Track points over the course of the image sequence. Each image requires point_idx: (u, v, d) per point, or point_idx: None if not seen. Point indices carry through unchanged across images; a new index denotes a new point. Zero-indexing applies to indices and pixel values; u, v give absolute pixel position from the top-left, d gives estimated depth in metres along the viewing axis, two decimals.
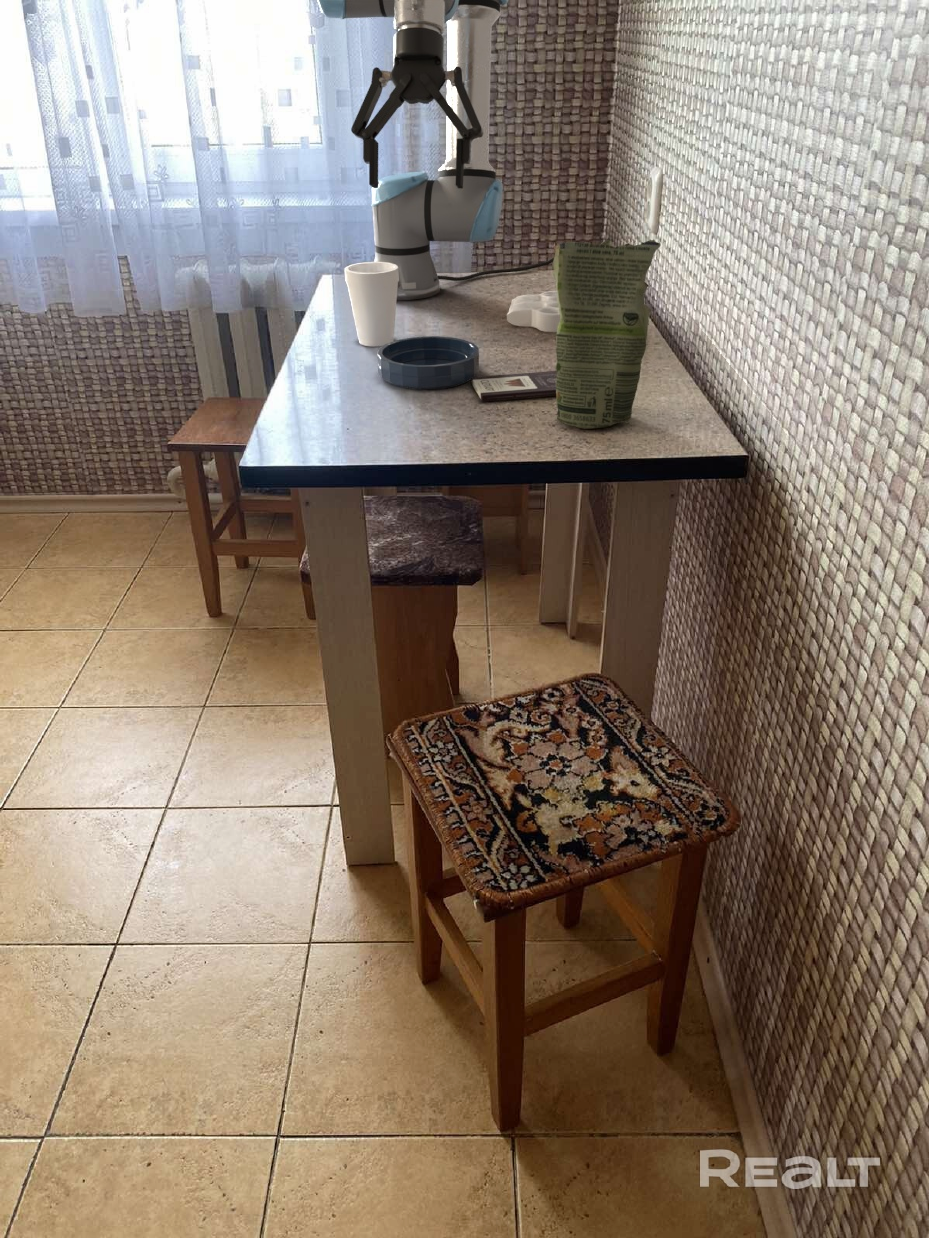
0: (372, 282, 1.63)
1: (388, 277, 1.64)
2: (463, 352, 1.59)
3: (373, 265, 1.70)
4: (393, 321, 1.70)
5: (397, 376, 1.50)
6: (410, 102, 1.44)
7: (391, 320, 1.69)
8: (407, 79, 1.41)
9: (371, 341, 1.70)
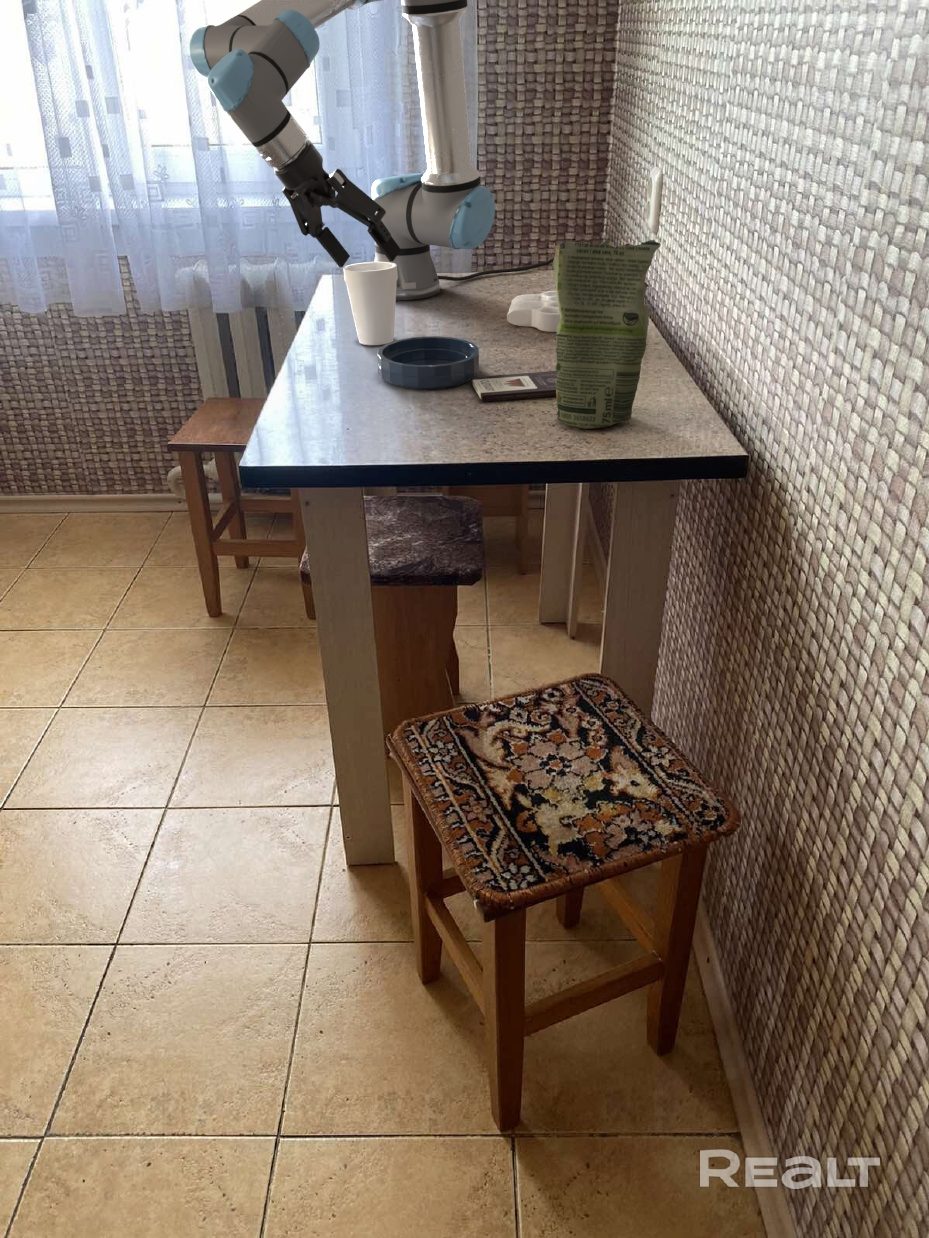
0: (371, 280, 1.63)
1: (387, 275, 1.64)
2: (463, 352, 1.59)
3: (372, 265, 1.70)
4: (393, 320, 1.70)
5: (397, 376, 1.50)
6: None
7: (390, 318, 1.69)
8: (305, 198, 1.53)
9: (371, 340, 1.70)
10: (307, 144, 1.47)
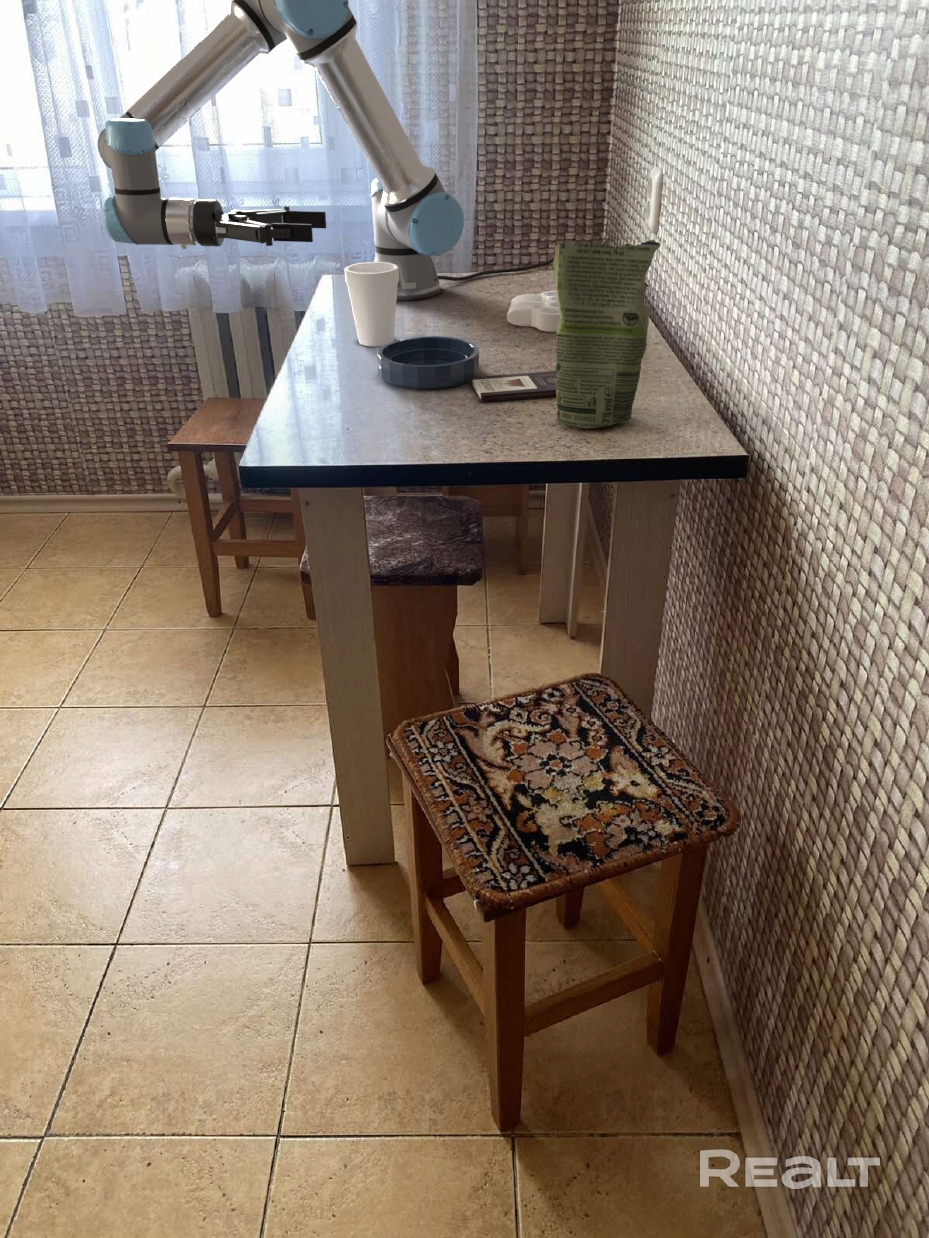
0: (372, 282, 1.63)
1: (388, 277, 1.64)
2: (463, 352, 1.59)
3: (373, 265, 1.70)
4: (393, 321, 1.70)
5: (397, 376, 1.50)
6: None
7: (391, 320, 1.69)
8: None
9: (371, 341, 1.70)
10: (193, 213, 1.60)
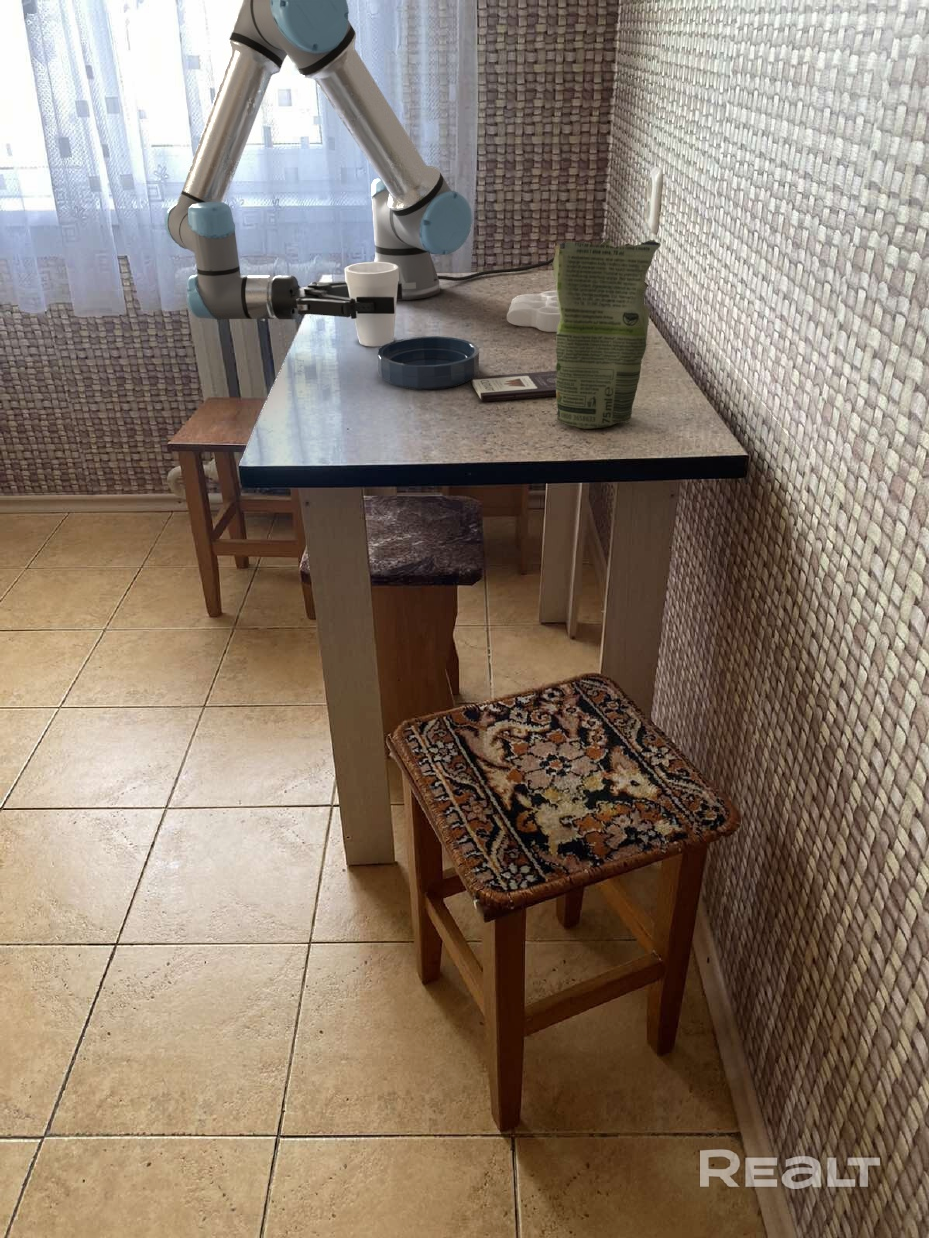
0: (372, 282, 1.63)
1: (388, 277, 1.64)
2: (463, 352, 1.59)
3: (373, 265, 1.70)
4: (393, 321, 1.70)
5: (397, 376, 1.50)
6: (326, 294, 1.70)
7: (391, 320, 1.69)
8: None
9: (371, 341, 1.70)
10: (271, 290, 1.67)
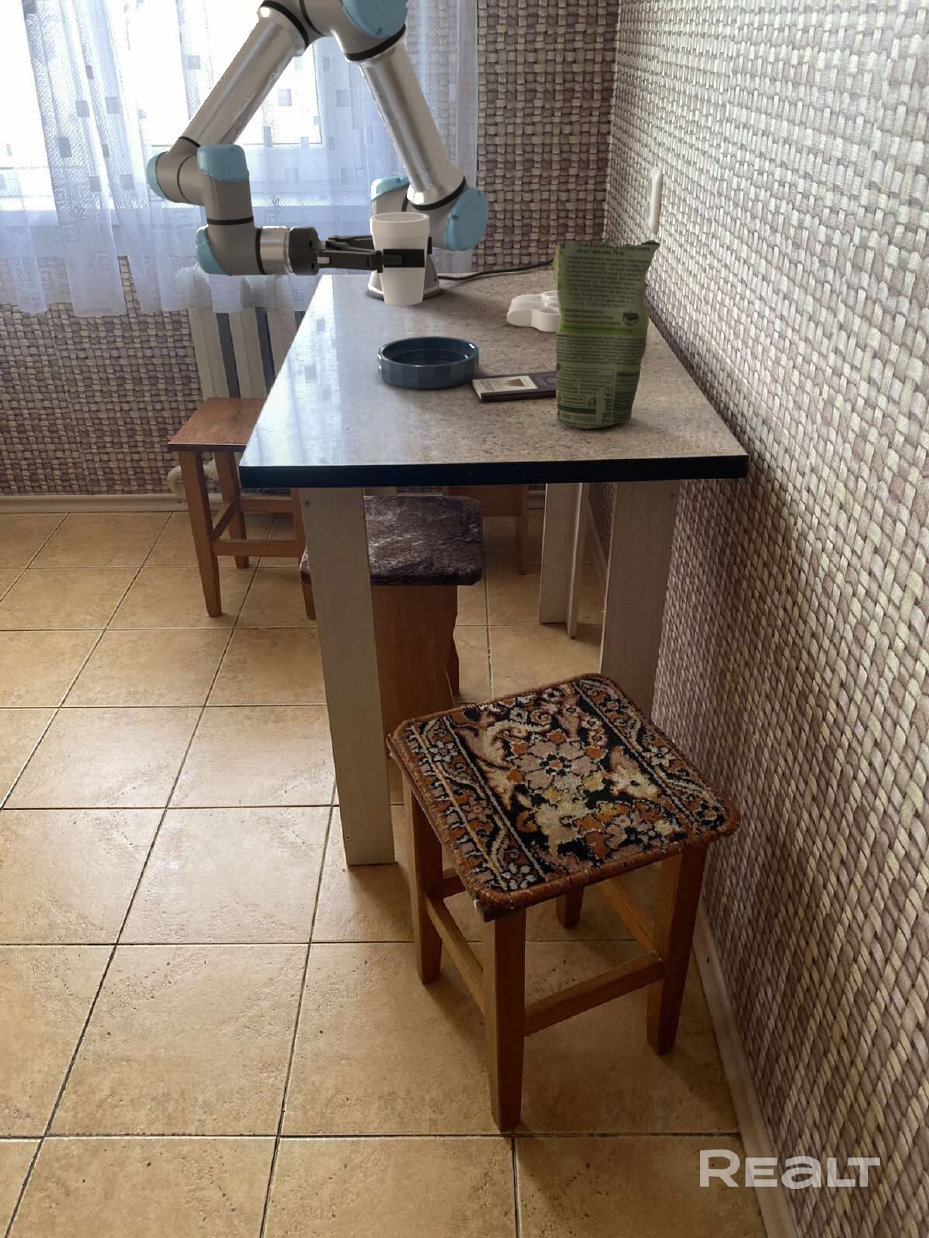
0: (401, 232, 1.47)
1: (418, 227, 1.48)
2: (463, 352, 1.59)
3: (400, 216, 1.54)
4: (423, 277, 1.54)
5: (397, 376, 1.50)
6: None
7: (421, 276, 1.53)
8: None
9: (398, 299, 1.54)
10: (288, 242, 1.51)
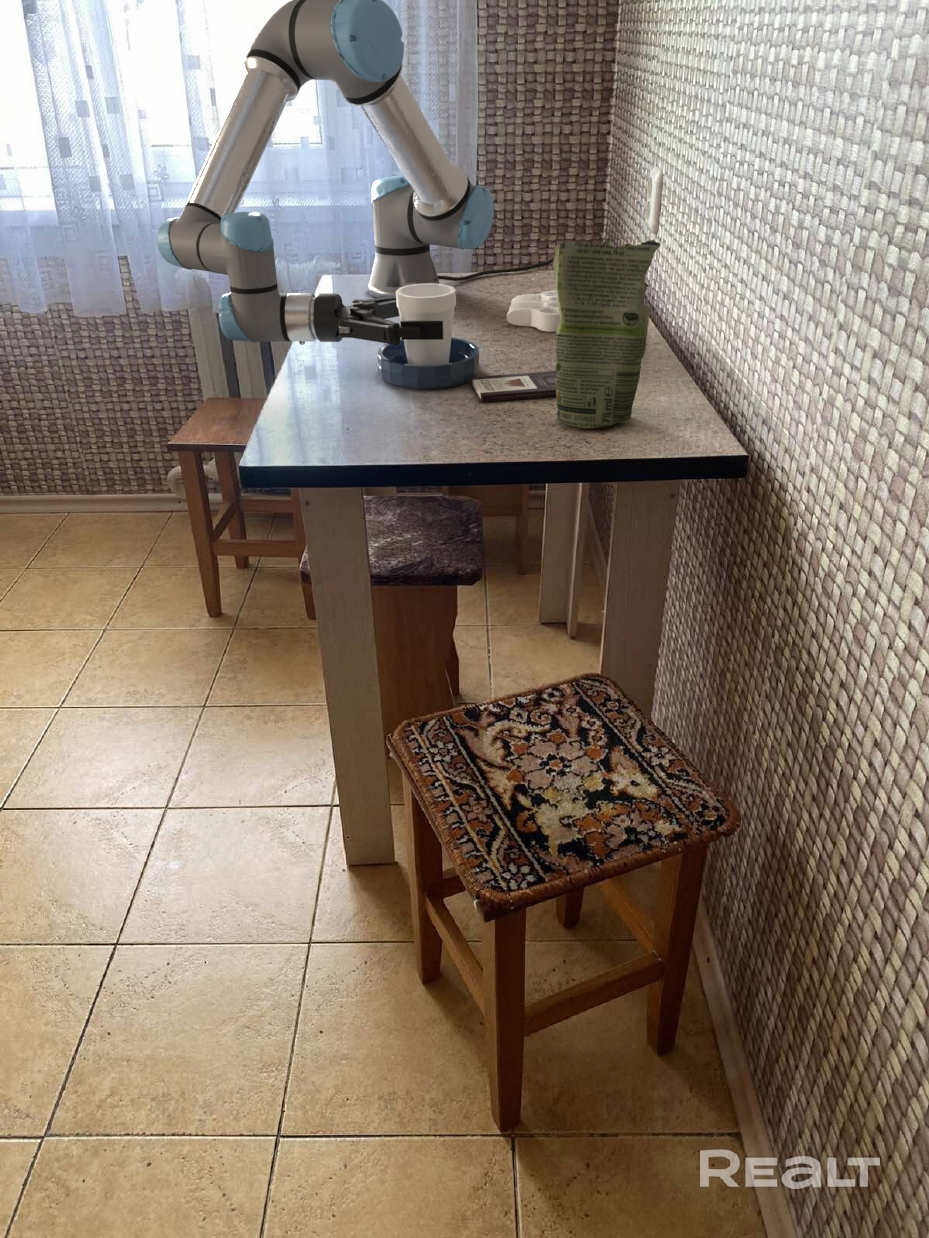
0: (428, 307, 1.46)
1: (446, 301, 1.47)
2: (463, 352, 1.59)
3: (426, 287, 1.53)
4: (448, 349, 1.53)
5: (397, 376, 1.50)
6: (374, 314, 1.53)
7: (447, 348, 1.52)
8: None
9: None
10: (313, 310, 1.50)
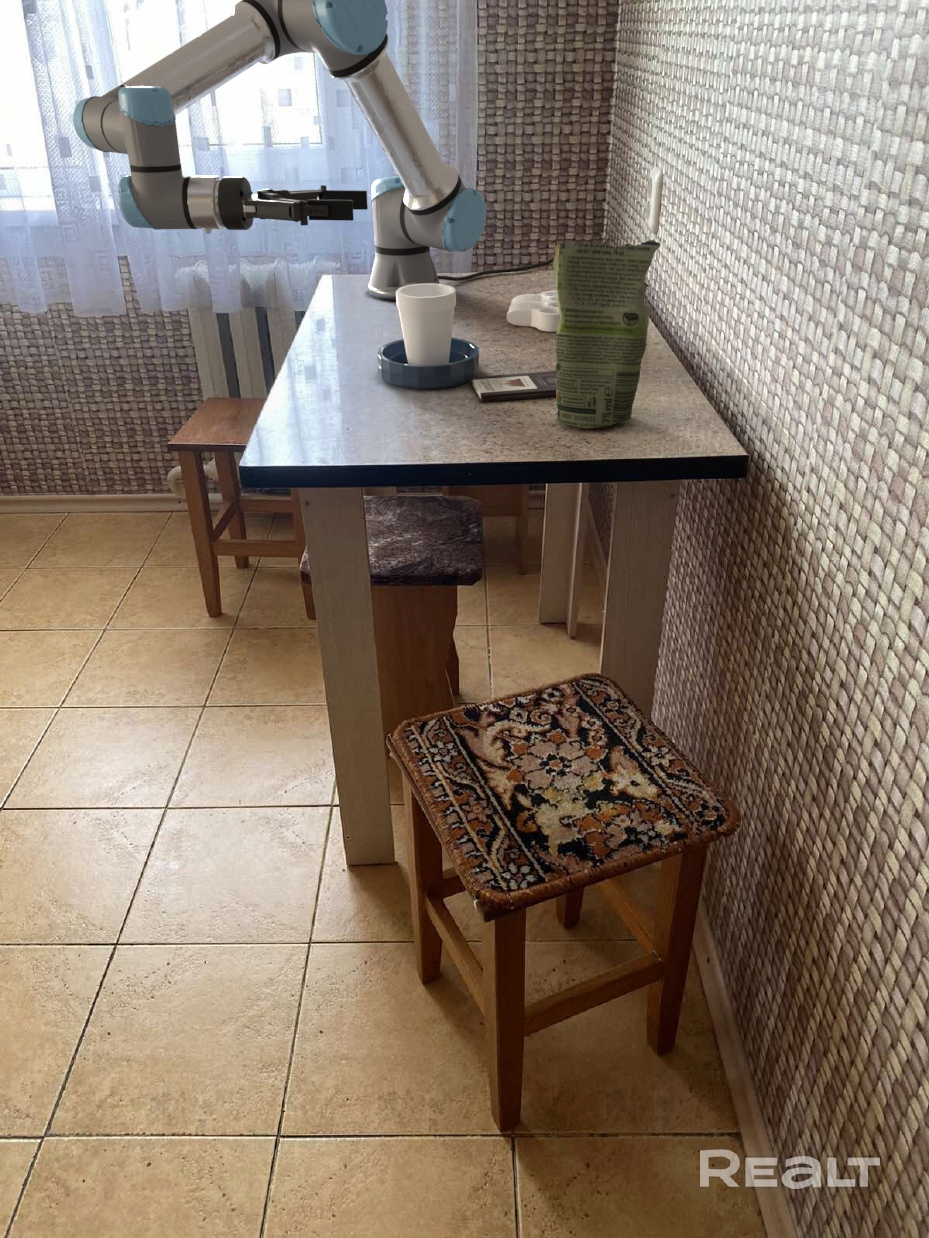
0: (428, 307, 1.46)
1: (446, 301, 1.47)
2: (463, 352, 1.59)
3: (426, 287, 1.53)
4: (448, 349, 1.53)
5: (397, 376, 1.50)
6: None
7: (447, 348, 1.52)
8: None
9: None
10: (218, 192, 1.42)
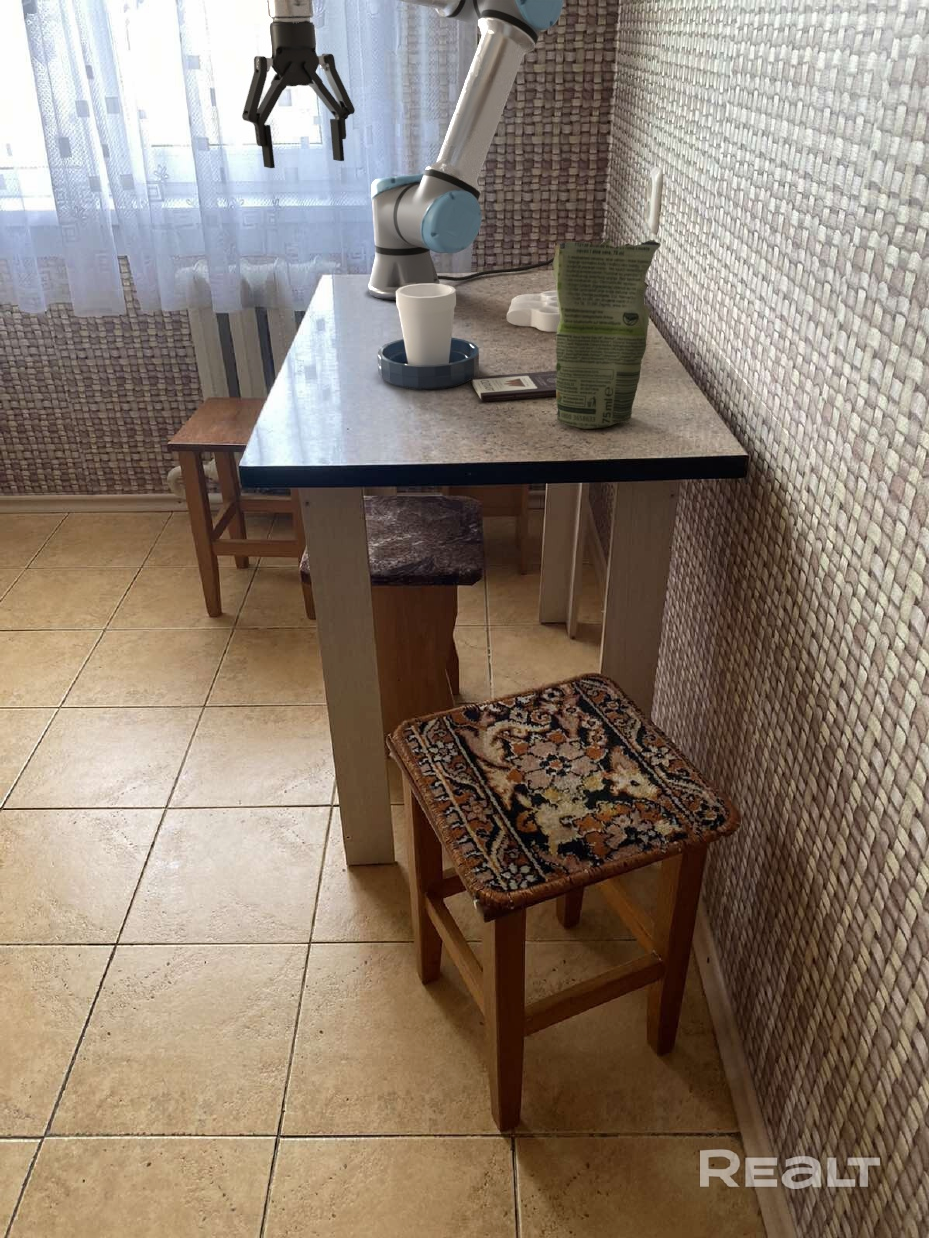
0: (428, 307, 1.46)
1: (446, 301, 1.47)
2: (463, 352, 1.59)
3: (426, 287, 1.53)
4: (448, 349, 1.53)
5: (397, 376, 1.50)
6: None
7: (447, 348, 1.52)
8: (294, 68, 1.56)
9: None
10: None
